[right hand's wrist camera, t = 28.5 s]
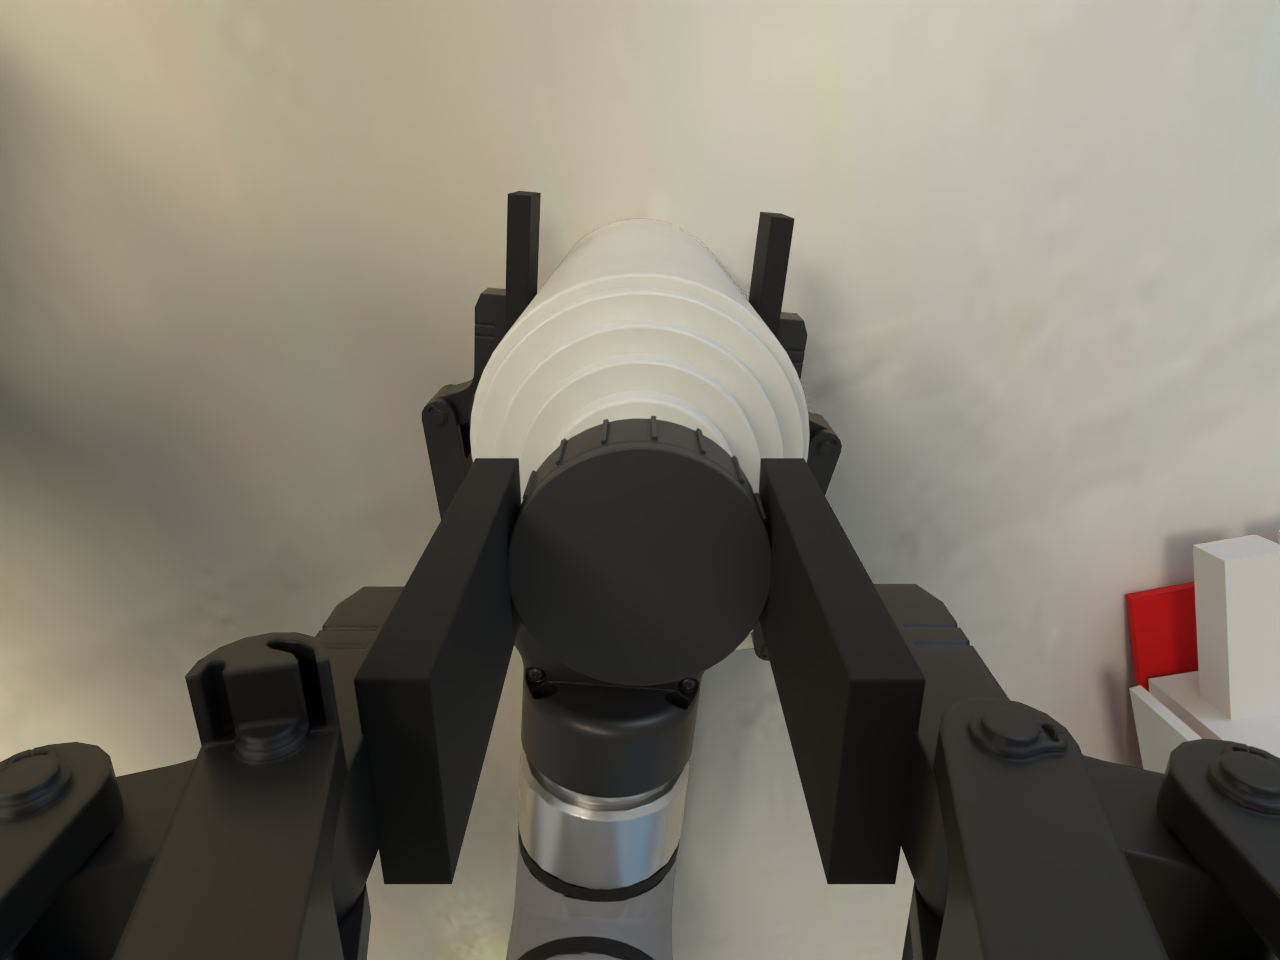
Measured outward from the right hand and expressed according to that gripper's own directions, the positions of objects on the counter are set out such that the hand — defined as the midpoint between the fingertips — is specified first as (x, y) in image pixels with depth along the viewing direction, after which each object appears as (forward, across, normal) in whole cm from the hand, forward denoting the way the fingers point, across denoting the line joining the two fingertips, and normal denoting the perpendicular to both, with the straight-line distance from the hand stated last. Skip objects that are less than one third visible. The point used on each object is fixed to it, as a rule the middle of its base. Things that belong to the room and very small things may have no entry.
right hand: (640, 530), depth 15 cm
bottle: (+22, 0, 0) cm, 22 cm away
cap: (-1, 0, 0) cm, 1 cm away
